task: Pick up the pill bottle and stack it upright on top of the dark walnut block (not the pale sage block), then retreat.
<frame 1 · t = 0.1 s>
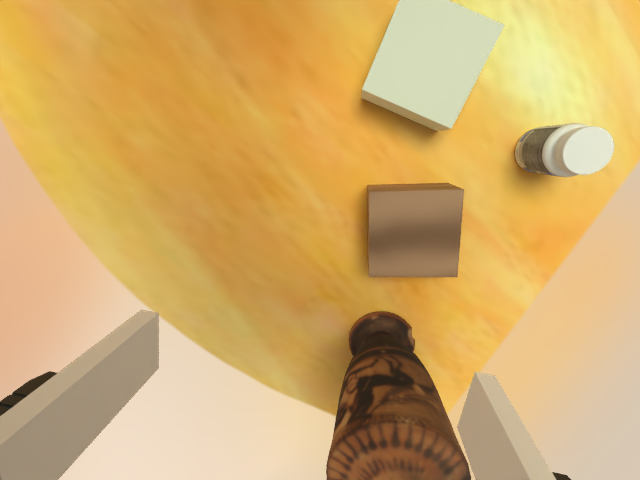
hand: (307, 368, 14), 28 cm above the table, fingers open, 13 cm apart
walnut block: (406, 222, 40), on the table
sage block: (418, 72, 35), on the table
vase: (380, 338, 44), on the table
pill bottle: (536, 150, 36), on the table
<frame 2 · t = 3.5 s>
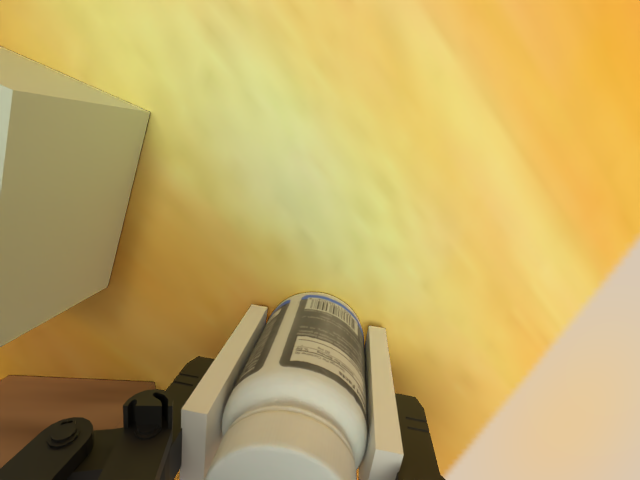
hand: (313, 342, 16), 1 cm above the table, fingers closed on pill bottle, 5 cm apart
walnut block: (96, 442, 20), on the table
sage block: (38, 167, 16), on the table
pill bottle: (316, 331, 17), on the table, touching gripper
when the fingers open (7 cm above the table, at t = 7.9 s): pill bottle stays where it is, resting on walnut block.
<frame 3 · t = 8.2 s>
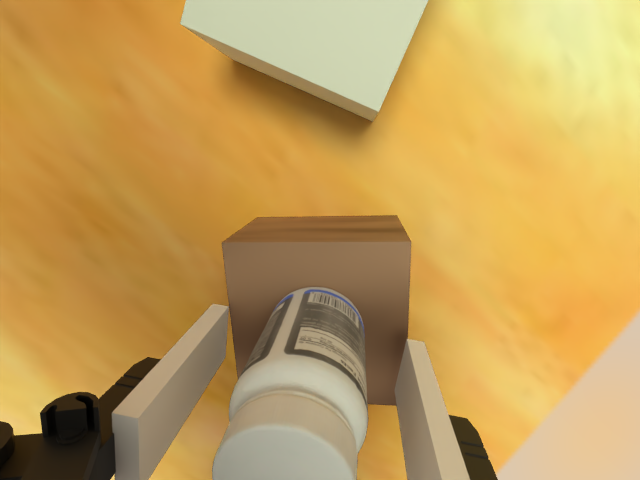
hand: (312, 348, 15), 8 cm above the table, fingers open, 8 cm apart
walnut block: (327, 281, 23), on the table
sage block: (333, 8, 18), on the table
pill bottle: (318, 325, 17), point 6 cm above the table, touching walnut block
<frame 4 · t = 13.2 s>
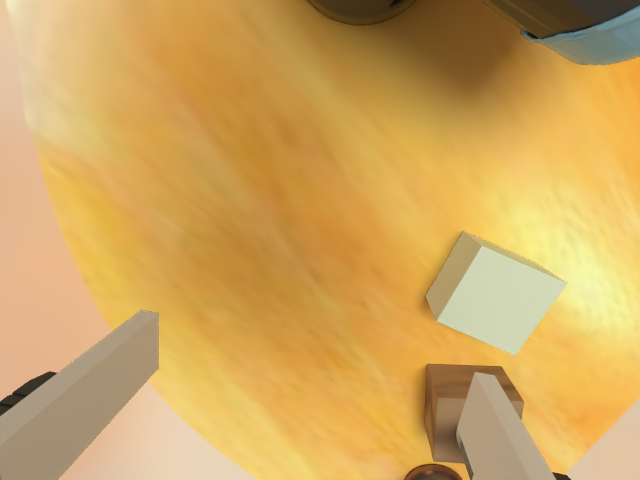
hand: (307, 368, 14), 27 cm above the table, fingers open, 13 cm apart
walnut block: (461, 395, 44), on the table
sage block: (478, 280, 39), on the table
pill bottle: (476, 431, 38), point 6 cm above the table, touching walnut block
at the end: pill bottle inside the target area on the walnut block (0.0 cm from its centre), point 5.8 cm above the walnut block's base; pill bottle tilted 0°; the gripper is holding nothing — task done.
